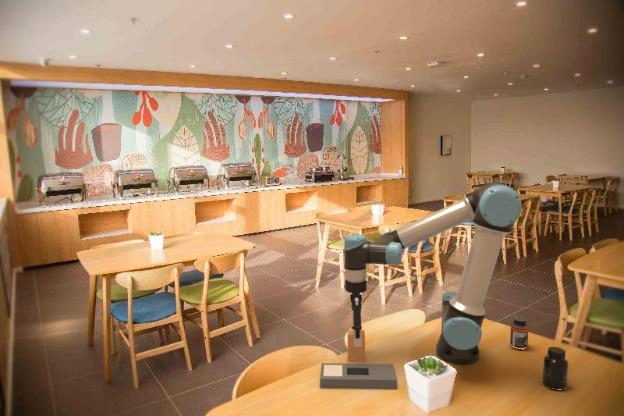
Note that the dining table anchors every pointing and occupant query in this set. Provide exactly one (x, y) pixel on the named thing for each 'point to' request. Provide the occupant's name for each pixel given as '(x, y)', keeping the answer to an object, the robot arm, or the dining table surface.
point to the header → (358, 376)
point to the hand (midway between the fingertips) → (356, 337)
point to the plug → (355, 348)
